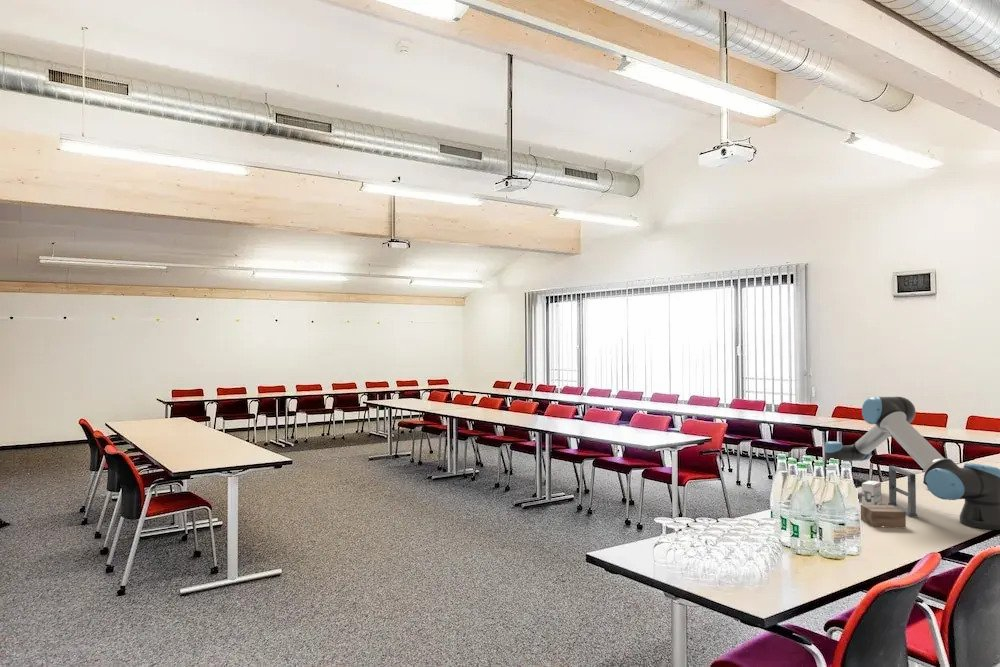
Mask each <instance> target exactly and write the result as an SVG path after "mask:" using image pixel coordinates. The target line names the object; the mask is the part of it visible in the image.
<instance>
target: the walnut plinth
mask: <svg viewBox="0 0 1000 667" xmlns="http://www.w3.org/2000/svg"><path fill="white" fill-rule="evenodd" d="M906 516H907V515H906V512H904V511H902V510H901V509H899V508H897V507H895V506H893V505H888V504H887V505H886V504H884V505H883V504H881V505H862V504H860V520H861V519H862V520H863V521H862V520H861V521H862V522H864V523H865V522H866V523H865V524H867V523H868V524H867V525H869V524H870V525H871V526H870V525H869V526H870V527H872V526H884V527H883V528H894V527H906V528H907V526H906V524H907V522H906V521H907V520H906V519H907V518H906Z"/></svg>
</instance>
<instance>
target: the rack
mask: <svg viewBox="0 0 1000 667" xmlns="http://www.w3.org/2000/svg"><path fill="white" fill-rule="evenodd" d="M897 473H899V474H901V475H904V476H906V477H907V491H906V490H903V489H901V488H899V487H897ZM916 477H917V476H916V473H913V472H910V471H907V470H905V469H904V468H900V467H899V466H895V465H888V489H889V490H888V494H889V495H888V497H889V498H888V501H889V502H887V505H893V506H895V507H897V508H899V509H901V510H902V511H904V512H906V516H907V515H908V516H907V517H909V516H917V517H918V513H917V499H916V498H917V490H916V489H917V488H916ZM897 492H898V493H899V494H901V495H904V496H905V497H907V507H905V506H903V505H900V504H899V503H897Z"/></svg>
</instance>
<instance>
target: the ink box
mask: <svg viewBox="0 0 1000 667" xmlns="http://www.w3.org/2000/svg"><path fill="white" fill-rule="evenodd" d="M861 505H882V482H881V481H878V480H877V481H876V480H868V481H867V482H864V483H862V486H861Z"/></svg>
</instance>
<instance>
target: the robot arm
mask: <svg viewBox="0 0 1000 667" xmlns="http://www.w3.org/2000/svg"><path fill="white" fill-rule="evenodd" d="M916 412H917V411H916V407H915V404H914V403H913V402H912V401H911V400H910V399H908V398H906V397H903V396H874V397H869V398H866V399H865V401H864V402H863V404H862V407H861V416H862V419H863V420H864V422H866V423H867V424H869V425H873V427H871V428H870V429H869V430H868V431H867V432H865V434H863V435H862V436H861V437H860V438H859V439H858V440H857V441H855V442H854V443H853V444H849V445H843V443H842V442H840V441H833V440H832V441H830V440H829V441H826V442H825V445H824V457H825V461H826V460H828V459H830V458H834V459H839V460H843V462H856V461H857V462H862V461H868V460H870V458H871V456H872V451H873V452H874V450H875V449H877V448H878V447H879V446H880V445H881V444H883V443H884V442H885V441H886V440H887V439H889V438H890V437H891V436H892V438H894V440H895V441H896V443H898V444H899V445H900V446H901V447H902V448H903V450H905V452H907V454H908V455H909V456H910V457H911V458H912V459H913V460H914V461H915V462H916V463H917V464H918V465H919V466H920V468H922V469H923V471H924V473H923V474H924V475H925V481H926V483H927V485H926V488H927V490H928V491H929V492H930V493H931V494H932V495H933V496H934V497H936V498H938V499H941V500H945V501H946V500H947V501H957V500H964V504H963V506H962V509H961V511H960V513H959V523H961V524H963V525H965V526H968V527H971V528H972V527H973V528H977V527H978V529H982V528H983V530H990V531H991V530H993V531H997V530H998V531H1000V468H999V467H996V466H992V465H991V466H990V465H987V464H980V463H973V462H965V463H964V465H963V467H960V466H958V464H956V463H955V461H953V460H952V458H951V459H950V458H945V457H944V456H942V454H941V453H940V452H939V451H938V450H937V449H936V448H935V447H933V445H931V443H930V442H929V441H928V440H927V439H926V438H924V436H923V435H921V433H920V432H918V431H917V429H916V428H914V427H915V426H913V425H912V424H911V423H912V422H913V420H914V419H915V417H916ZM924 475H923V476H924ZM853 480H854V484H855V486H856V488H858V487H859V488H860V487H862V483H864V482H867V481H869V479H868V480H867V479H864V478H861V477H860V478H855V477H853ZM855 486H854V487H855Z"/></svg>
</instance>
